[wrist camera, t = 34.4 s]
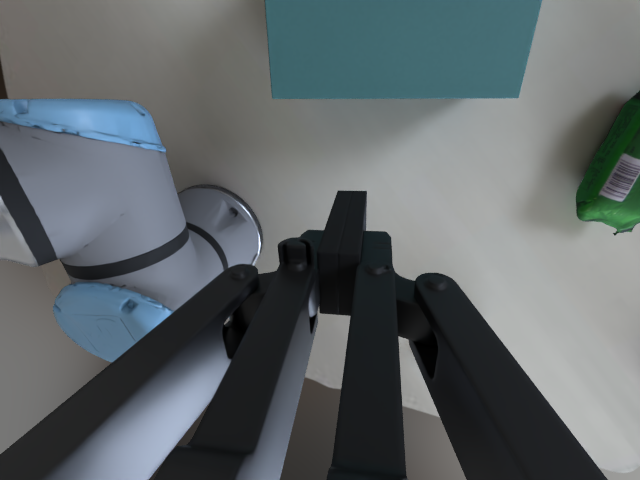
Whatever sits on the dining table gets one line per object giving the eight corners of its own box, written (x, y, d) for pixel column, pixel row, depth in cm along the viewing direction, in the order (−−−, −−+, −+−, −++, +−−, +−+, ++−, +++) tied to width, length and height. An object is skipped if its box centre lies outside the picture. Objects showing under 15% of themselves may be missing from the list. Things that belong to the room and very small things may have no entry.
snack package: (554, 212, 42) (574, 230, 37) (631, 73, 34) (669, 76, 29) (612, 224, 41) (641, 244, 37) (704, 87, 34) (754, 91, 29)
